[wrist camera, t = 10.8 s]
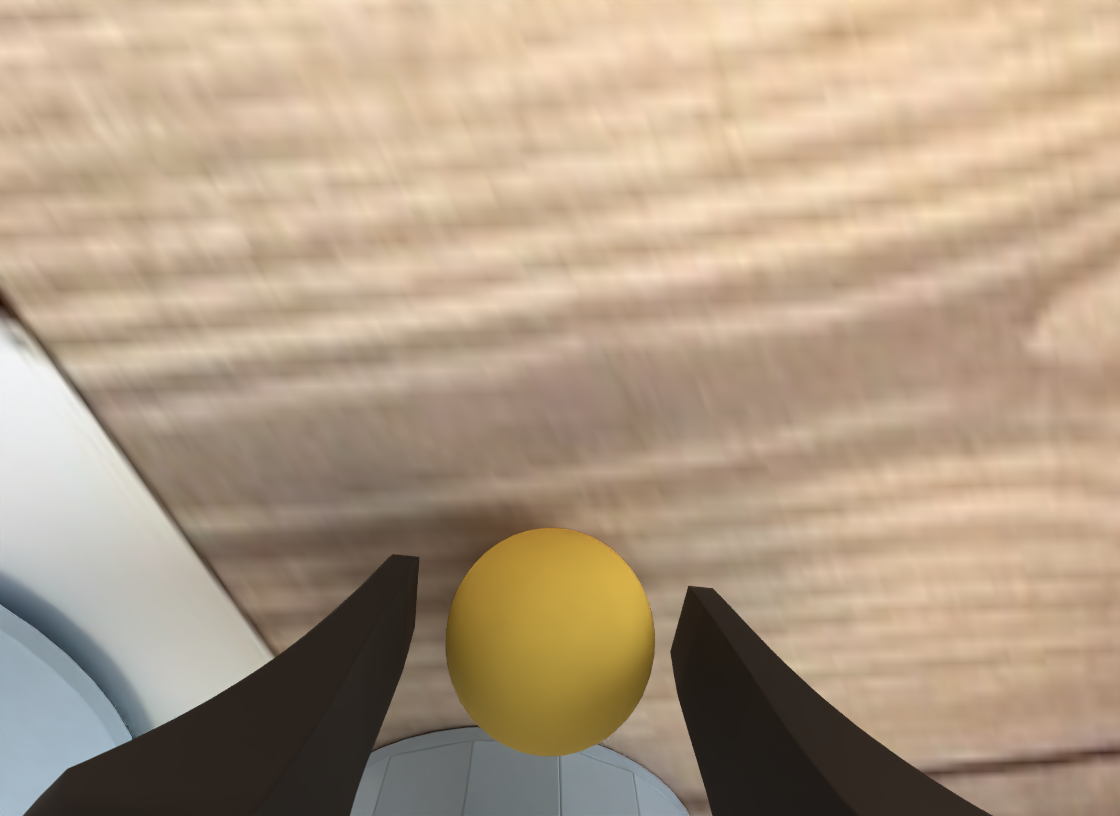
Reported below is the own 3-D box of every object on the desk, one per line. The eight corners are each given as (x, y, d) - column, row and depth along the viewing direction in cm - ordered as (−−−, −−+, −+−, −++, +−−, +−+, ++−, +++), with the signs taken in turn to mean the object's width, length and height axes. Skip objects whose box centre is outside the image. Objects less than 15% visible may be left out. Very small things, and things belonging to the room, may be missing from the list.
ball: (546, 664, 15) (545, 844, 11) (426, 566, 14) (371, 724, 9) (671, 571, 14) (727, 727, 10) (554, 457, 13) (558, 578, 8)
